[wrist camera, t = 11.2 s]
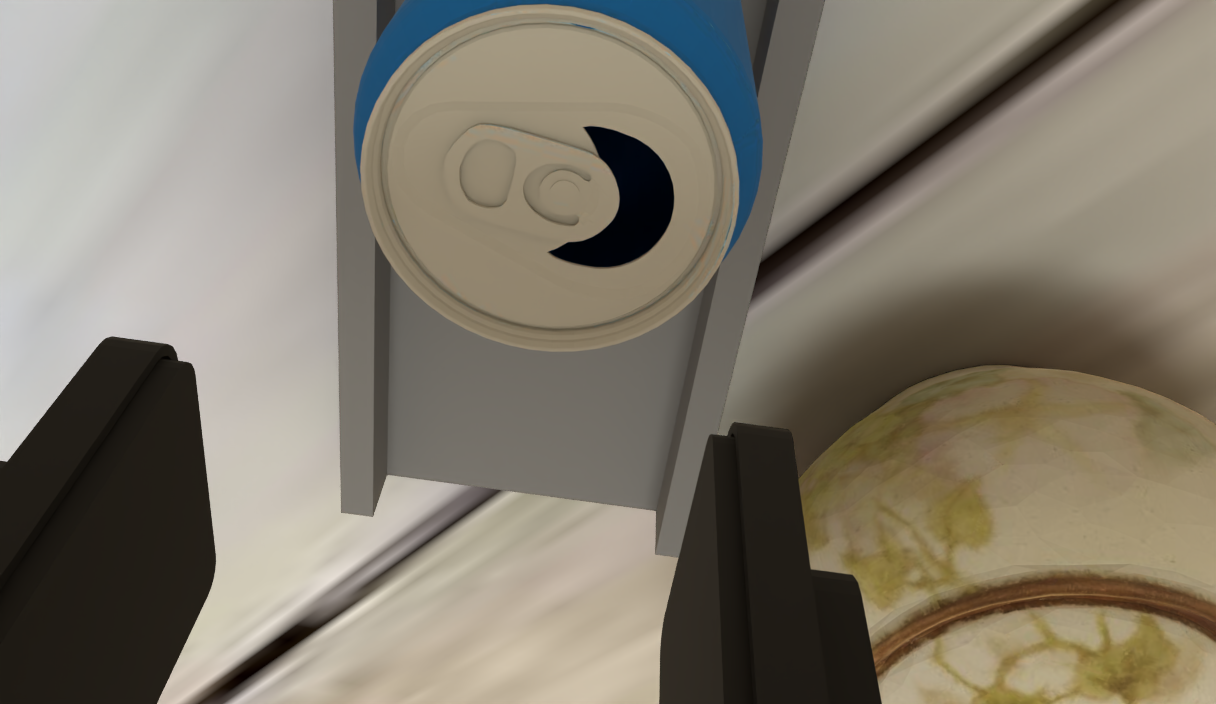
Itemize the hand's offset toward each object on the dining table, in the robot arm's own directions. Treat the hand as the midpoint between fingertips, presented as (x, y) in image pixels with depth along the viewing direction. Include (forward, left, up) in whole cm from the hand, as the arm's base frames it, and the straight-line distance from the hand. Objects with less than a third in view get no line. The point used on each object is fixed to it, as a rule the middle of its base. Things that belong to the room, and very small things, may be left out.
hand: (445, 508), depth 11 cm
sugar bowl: (-14, +14, -20) cm, 28 cm away
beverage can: (0, 0, -19) cm, 19 cm away
